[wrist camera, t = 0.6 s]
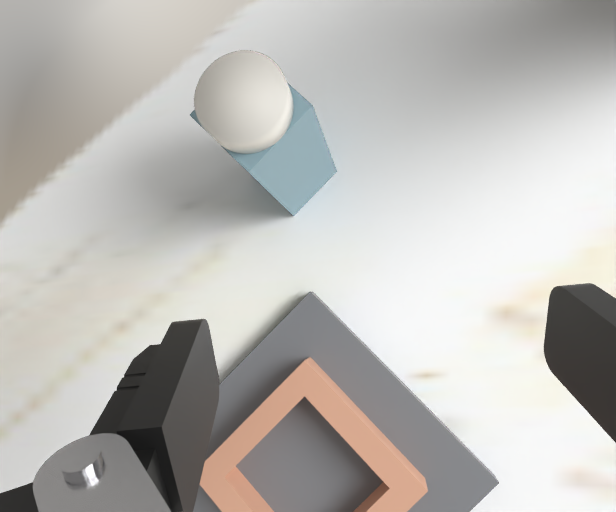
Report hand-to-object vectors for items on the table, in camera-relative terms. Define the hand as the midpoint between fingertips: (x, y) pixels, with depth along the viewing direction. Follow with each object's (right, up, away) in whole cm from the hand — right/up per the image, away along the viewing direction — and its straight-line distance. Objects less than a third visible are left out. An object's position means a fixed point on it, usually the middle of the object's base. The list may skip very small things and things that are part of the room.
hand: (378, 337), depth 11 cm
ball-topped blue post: (-3, +8, +22) cm, 23 cm away
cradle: (-1, -12, +19) cm, 23 cm away
